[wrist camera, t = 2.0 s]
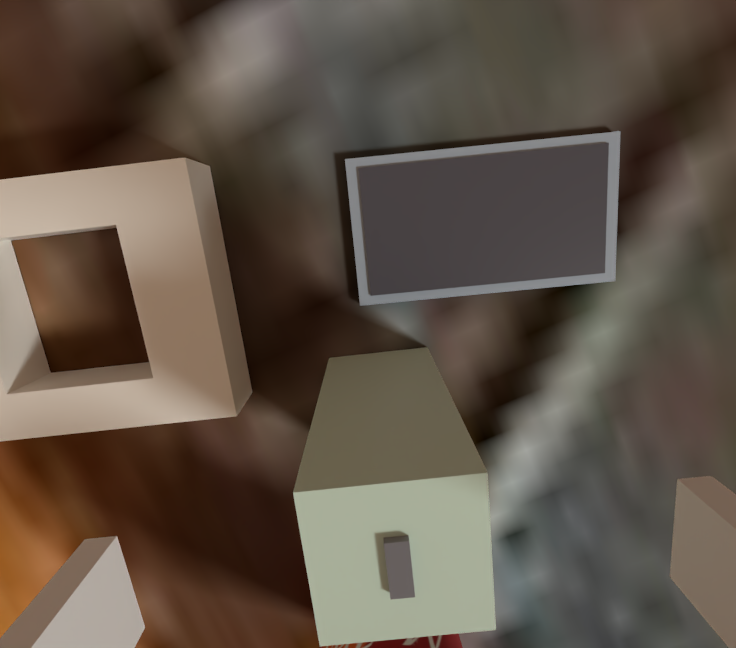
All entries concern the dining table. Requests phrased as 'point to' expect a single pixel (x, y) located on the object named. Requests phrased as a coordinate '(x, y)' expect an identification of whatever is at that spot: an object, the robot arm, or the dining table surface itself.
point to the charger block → (393, 505)
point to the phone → (485, 218)
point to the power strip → (151, 295)
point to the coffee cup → (409, 643)
